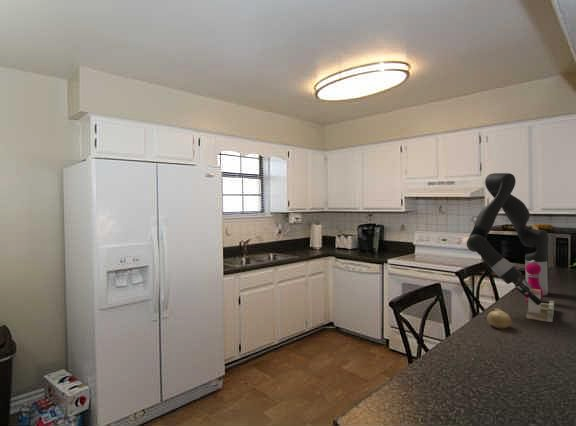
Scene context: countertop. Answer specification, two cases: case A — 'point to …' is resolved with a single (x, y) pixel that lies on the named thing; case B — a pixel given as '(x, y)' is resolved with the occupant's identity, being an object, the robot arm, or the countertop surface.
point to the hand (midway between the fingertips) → (540, 302)
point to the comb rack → (543, 312)
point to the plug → (531, 305)
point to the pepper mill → (533, 276)
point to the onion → (499, 319)
